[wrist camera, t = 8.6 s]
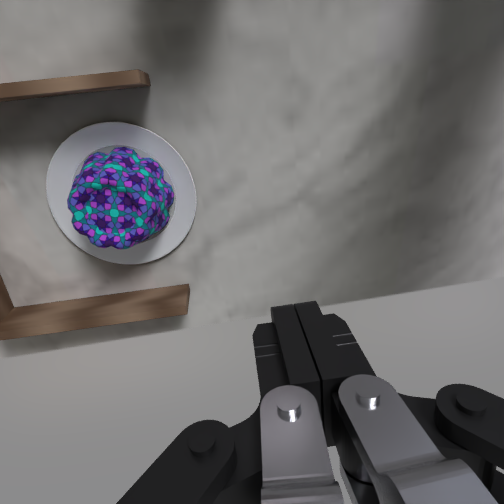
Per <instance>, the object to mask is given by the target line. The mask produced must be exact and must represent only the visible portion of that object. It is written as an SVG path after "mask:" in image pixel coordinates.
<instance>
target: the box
mask: <svg viewBox="0 0 504 504" xmlns="http://www.w3.org/2000/svg"><path fill="white" fill-rule="evenodd" d="M144 86H151V85H150V80H149V75H148V74H147V73H145V72H143V71H140V70H129V71H119V72H109V73H100V74H90V75H80V76H71V77H61V78H51V79H42V80H32V81H22V82H12V83H3V84H0V102H2V101H12V100H21V99H31V98H40V97H50V96H59V95H69V94H78V93H88V92H97V91H106V90H116V89H125V88H135V87H144ZM189 296H190V288H189V284H184V285H177V286H170V287H162V288H155V289H148V290H140V291H133V292H125V293H118V294H111V295H103V296H96V297H89V298H81V299H74V300H67V301H59V302H52V303H45V304H37V305H30V306H23V307H15V308H14V306H13V304H12V301H11V299H10V297H9V294H8V292H7V289H6V287H5V285H4V282H3V280H2V277H1V275H0V340H7V339H14V338H21V337H28V336H35V335H42V334H49V333H56V332H64V331H71V330H78V329H85V328H92V327H99V326H106V325H113V324H120V323H128V322H135V321H142V320H149V319H156V318H163V317H170V316H177V315H185V314H187V313H188V304H189Z"/></svg>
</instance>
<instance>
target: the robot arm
mask: <svg viewBox="0 0 504 504" xmlns="http://www.w3.org/2000/svg"><path fill="white" fill-rule="evenodd" d="M271 318H272V322H271V323H264V324H258V325H257V327H256V329H255V331H254V333H253V343H254V350H255V358H256V365H257V373H258V379H259V387H260V395H261V399H260V403H259V406H258V408H257V409H256V411H255V412H254V413H253V414H252V415H251V416H250V417H249V418H248V419H246V420H245V421H243V422H241V423H239V424H237V425H234V426H232V427H230V428H228V426H226V425H225V424H223V423H222V422H219V421H216V420H203V421H199V422H196V423H194V424H192V425H190V426H188V427H187V428H185V429H184V430H183V431H182V432H181V433H180V434H179V435H178V436H177V437H176V438H175V440H174V441H173V442H172V443H171V444H170V445H169V446H168V447H167V448H166V449H165V451H164V452H163V453H162V454H161V455H160V456H159V457H158V458H157V459H156V460H155V462H154V463H153V464H152V465H151V466H150V467H149V468H148V469H147V470H146V472H145V473H144V474H143V475H142V476H141V477H140V478H139V479H138V480H137V481H136V483H135V484H134V485H133V486H132V487H131V488H130V489H129V490H128V491H127V492H126V493H125V495H124V496H123V497H122V498H121V499H120V500H119V501H118V502H117V503H116V504H344V500H343V496H342V492H341V489H340V486H339V483H338V482H337V481H335V479H334V475H333V471H332V466H331V463H330V458H329V453H328V449H327V447H330V446H336V448H337V451H338V454H339V457H340V473H341V476H342V479H343V481H344V484H345V486H346V489H347V491H348V494H349V496H350V499H351V501H352V503H353V504H504V474H502V473H501V472H499V471H497V470H496V466H498V467H500V468H501V469H504V399H503V398H501V397H498V396H496V395H494V394H491V393H489V392H487V391H484V390H482V389H480V388H477V387H474V386H470V385H465V384H451V385H448V386H445V387H443V388H441V389H440V390H439V391H438V393H437V396H436V399H430V398H420V397H412V396H407V395H403V394H400V393H397V392H396V390H395V389H394V388H393V386H392V385H390V384H389V383H388V382H387V381H385V380H383V379H381V378H379V377H377V376H376V375H375V373H374V371H373V369H372V368H371V366H370V364H369V362H368V360H367V359H366V357H365V355H364V353H363V352H362V350H361V348H360V346H359V345H358V343H357V342H356V339H355V338H354V336H353V334H352V333H351V331H350V329H349V327H348V325H347V323H346V322H345V321H344V320H342V319H341V318H340V317H338V316H337V315H335V314H328V315H323V314H322V313H321V310H320V308H319V306H318V304H317V302H316V301H311V302H304V303H297V304H294V305H293V304H290V305H283V306H276V307H271Z"/></svg>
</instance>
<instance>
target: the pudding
mask: <svg viewBox="0 0 504 504" xmlns="http://www.w3.org/2000/svg"><path fill="white" fill-rule="evenodd" d="M113 145H123V146H129V147H134V148H137V149H139V150H142V151H144V152H146V153H147V154H149V155H151V156H152V157H154V158H155V159H156V160H157V161H158V162H159V163H160V164H161V165H162V166H163V167H164V168H165V169H166V171H167V173H168V174H169V176H170V178H171V180H172V183H173V185H174V189H175V194H176V205H175V211H174V214H173V217H172V219H171V221H170V223H169V225H168V226H167V227H166V228H165V229H164V231H163V232H161V233H160V234H159V235H158V236H156V237H155V238H153V239H151V240H149V241H146V242H143V243H140V242H142V241H144V240H146V239H148V238H149V236H150V235H152V234H154V233H156V232H158V231H160V230H161V229H162V228H164V227H165V226H166V225H167V223H168V220H169V218H170V216H169V213H168V207H169V206H170V205H171V204H172V203H173V201H174V192H173V189H172V187H171V185H169V184H168V183H167V182H165V181H164V180H163V169H162V168H161V166H160V165H159V164H158V163H157V162H156V161H154V160H153V159H151V158H140V157H139V156H138V155H137V153H136V152H135V151H134V150H132V149H129V148H126V147H118V148H115V149H113V150H112V151H111V152H110V153H109V154H105V153H101V152H97V153H94V154H92V155H90V156H89V157H88V158H87V159H86V161H85V162H84V164H83V167H82V169H81V172H80V174H79V175H77V176H76V177H75V180H74V182H73V185H72V181H73V177H74V174H75V171H76V169H77V167H78V166H79V164H80V163H81V162H82V160H83V159H84V158H86V157H87V156H88V155H89V154H90V153H92V152H94V151H96V150H98V149H100V148H103V147H107V146H113ZM46 194H47V200H48V205H49V207H50V210H51V213H52V215H53V217H54V219H55V221H56V223H57V224H58V226H59V228H60V229H61V230H62V231H63V233H64V234H65V235H66V236H67V238H69V239H70V240H71V241H72V242H73V243H74V244H75V245H76V246H77V247H79V248H80V249H82V250H83V251H85V252H86V253H88V254H90V255H92V256H94V257H96V258H98V259H101V260H105V261H108V262H111V263H117V264H141V263H147V262H150V261H153V260H156V259H159V258H161V257H163V256H165V255H166V254H168V253H170V252H171V251H172V250H173V249H175V248H176V247H177V246H178V245H179V244H180V243H181V242H182V240H183V239H184V238H185V237H186V235H187V233H188V232H189V230H190V228H191V226H192V223H193V220H194V217H195V211H196V190H195V185H194V181H193V178H192V176H191V173H190V170H189V168H188V167H187V165H186V163H185V162H184V160H183V158H182V157H181V156H180V155H179V153H178V152H177V151H176V150H175V149H174V147H172V146H171V145H170V144H169V143H168V142H167V141H165V140H164V139H163V138H162V137H160V136H158V135H157V134H155V133H153V132H152V131H150V130H147V129H145V128H142V127H140V126H137V125H133V124H129V123H124V122H104V123H97V124H93V125H90V126H87V127H84V128H82V129H80V130H78V131H77V132H75V133H73V134H72V135H70V136H69V137H68V138H67V139H66V140H65V141H64V142H63V143H62V144H61V145H60V146H59V148H58V149H57V150H56V152H55V153H54V155H53V157H52V159H51V162H50V164H49V167H48V172H47V176H46Z"/></svg>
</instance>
